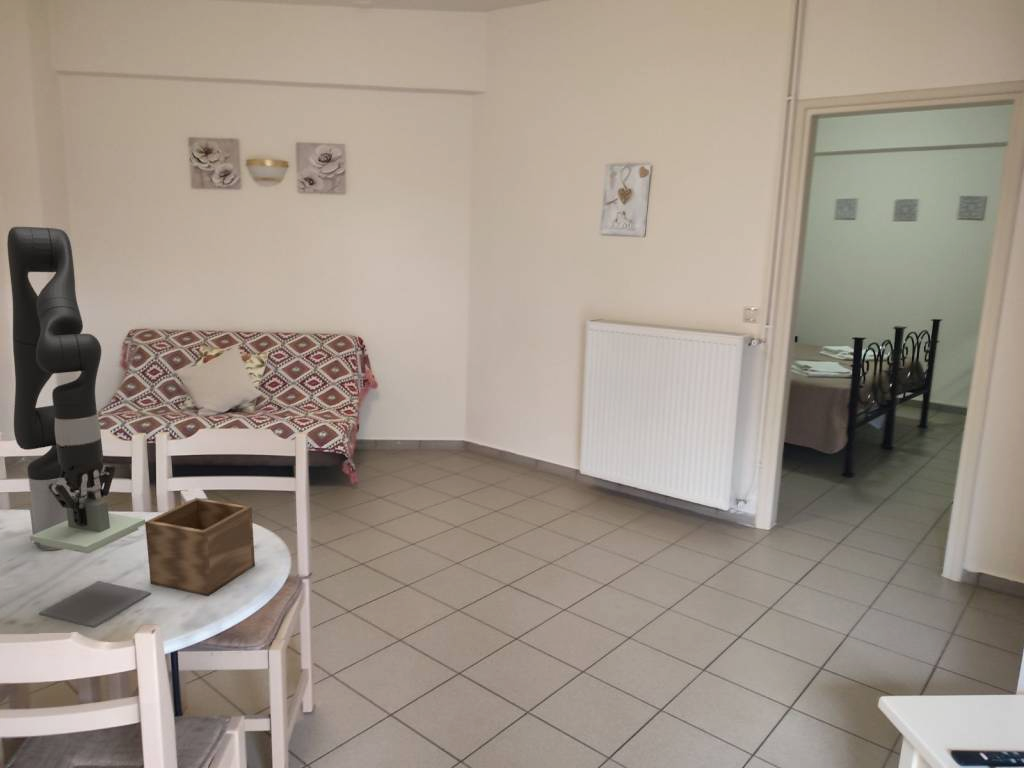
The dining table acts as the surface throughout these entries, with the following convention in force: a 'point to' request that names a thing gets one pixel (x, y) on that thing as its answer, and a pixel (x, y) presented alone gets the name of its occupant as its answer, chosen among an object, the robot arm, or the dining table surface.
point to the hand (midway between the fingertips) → (88, 522)
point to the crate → (200, 545)
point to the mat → (95, 604)
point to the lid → (88, 529)
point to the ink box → (192, 495)
